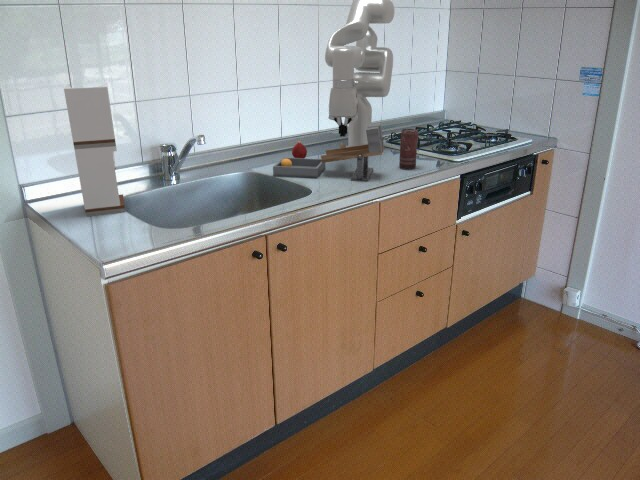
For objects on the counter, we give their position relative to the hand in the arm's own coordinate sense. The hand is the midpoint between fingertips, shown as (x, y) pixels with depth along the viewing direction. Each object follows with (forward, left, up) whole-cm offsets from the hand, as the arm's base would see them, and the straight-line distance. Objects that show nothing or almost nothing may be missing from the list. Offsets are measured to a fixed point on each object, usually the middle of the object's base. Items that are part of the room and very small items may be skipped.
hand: (343, 135), depth 202 cm
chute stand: (+11, +9, -12) cm, 19 cm away
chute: (+7, +6, -5) cm, 10 cm away
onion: (-5, -18, -12) cm, 22 cm away
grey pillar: (+62, -60, -12) cm, 87 cm away
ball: (+11, -19, -9) cm, 24 cm away
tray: (+11, -14, -12) cm, 21 cm away
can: (-3, +24, -12) cm, 27 cm away
